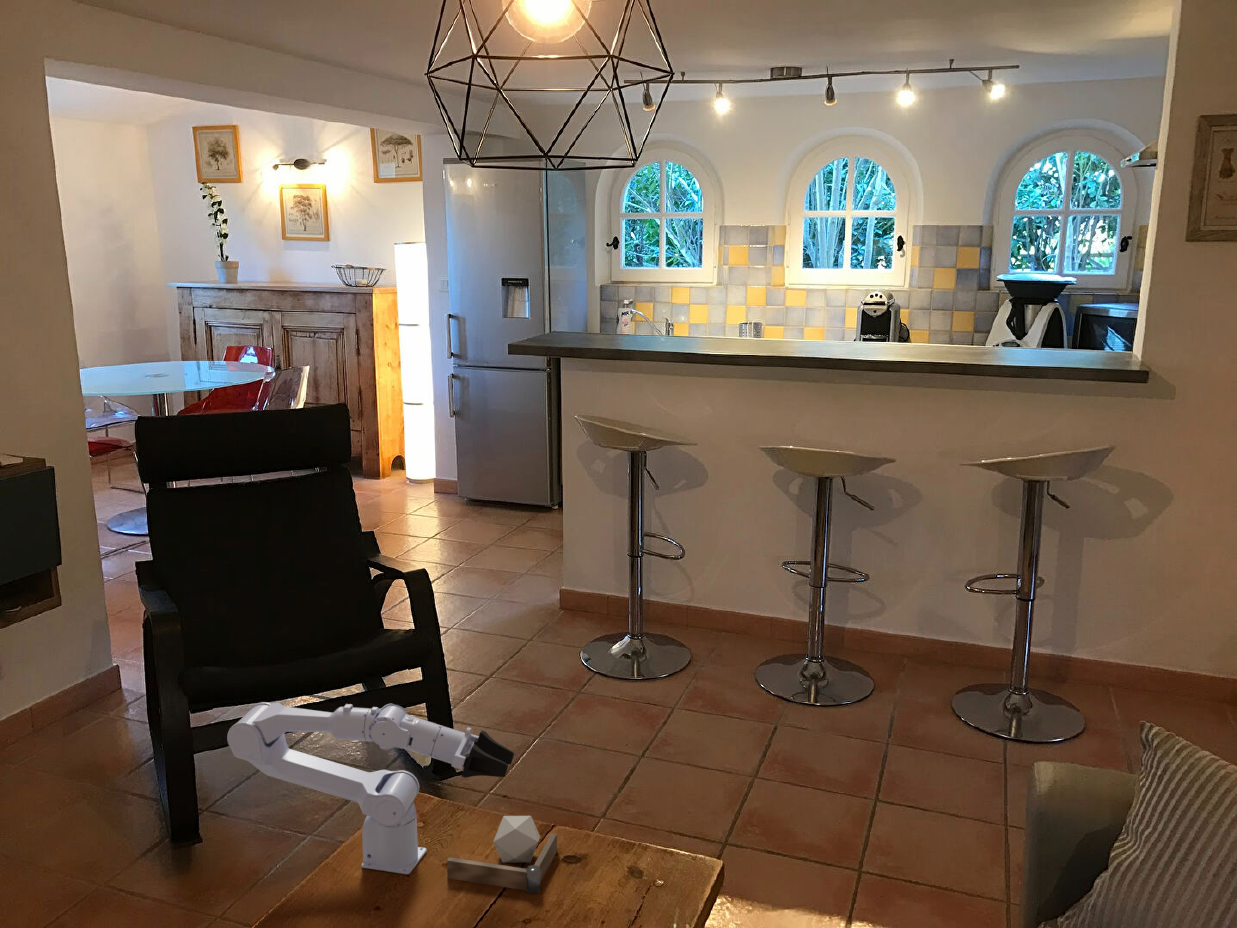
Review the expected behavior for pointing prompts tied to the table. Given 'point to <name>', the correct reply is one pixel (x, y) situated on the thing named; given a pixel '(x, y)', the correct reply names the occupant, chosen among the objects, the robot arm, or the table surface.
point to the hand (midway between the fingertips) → (509, 764)
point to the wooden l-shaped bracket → (505, 870)
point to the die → (516, 839)
